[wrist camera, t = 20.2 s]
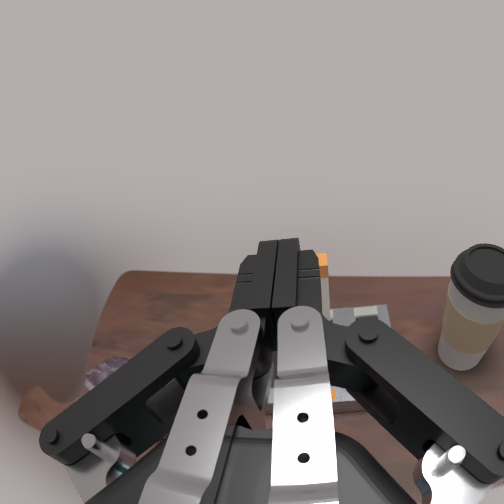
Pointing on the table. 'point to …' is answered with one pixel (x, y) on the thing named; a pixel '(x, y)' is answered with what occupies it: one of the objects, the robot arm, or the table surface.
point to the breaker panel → (343, 317)
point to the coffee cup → (473, 306)
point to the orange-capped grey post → (324, 284)
